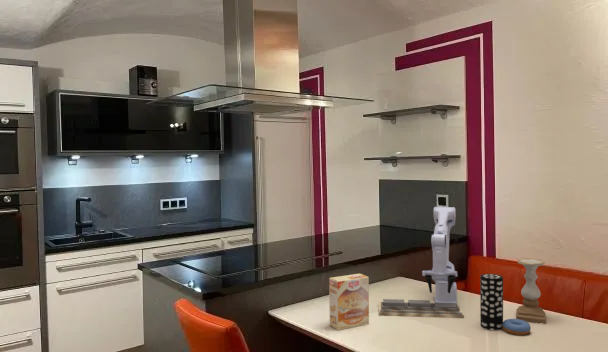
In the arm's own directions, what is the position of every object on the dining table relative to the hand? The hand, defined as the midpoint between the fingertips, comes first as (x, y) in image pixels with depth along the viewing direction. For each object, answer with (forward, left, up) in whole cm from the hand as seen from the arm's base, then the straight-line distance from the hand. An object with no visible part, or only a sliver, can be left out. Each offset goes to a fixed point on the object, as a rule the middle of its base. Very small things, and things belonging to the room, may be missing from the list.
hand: (439, 292), depth 208 cm
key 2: (-2, 0, -7) cm, 7 cm away
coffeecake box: (+38, +20, -9) cm, 44 cm away
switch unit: (+9, 0, -8) cm, 12 cm away
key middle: (+9, 0, -6) cm, 10 cm away
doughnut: (-26, +21, -9) cm, 34 cm away
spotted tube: (-18, +17, -9) cm, 26 cm away
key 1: (+20, 0, -6) cm, 21 cm away
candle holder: (-36, +5, -9) cm, 37 cm away
